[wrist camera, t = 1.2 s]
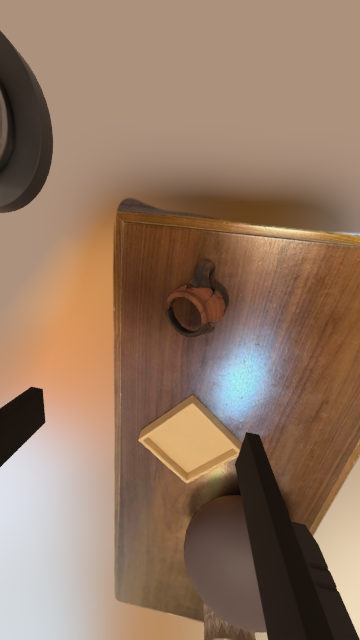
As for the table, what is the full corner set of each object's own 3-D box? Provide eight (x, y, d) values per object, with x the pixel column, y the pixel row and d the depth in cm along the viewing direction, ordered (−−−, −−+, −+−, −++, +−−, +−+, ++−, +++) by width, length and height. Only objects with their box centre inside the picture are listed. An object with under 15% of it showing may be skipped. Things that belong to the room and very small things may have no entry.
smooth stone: (292, 540, 45) (337, 667, 30) (196, 539, 49) (195, 651, 34) (285, 469, 39) (337, 586, 24) (176, 475, 43) (165, 578, 28)
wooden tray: (141, 429, 40) (138, 440, 37) (193, 394, 36) (192, 403, 33) (187, 471, 42) (186, 483, 40) (240, 442, 38) (243, 453, 36)
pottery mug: (229, 326, 32) (209, 351, 26) (184, 312, 36) (159, 330, 30) (242, 257, 26) (221, 269, 20) (187, 250, 30) (156, 257, 24)
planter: (254, 588, 52) (267, 664, 42) (216, 594, 55) (220, 666, 45) (234, 563, 50) (243, 637, 40) (195, 571, 53) (194, 641, 43)
